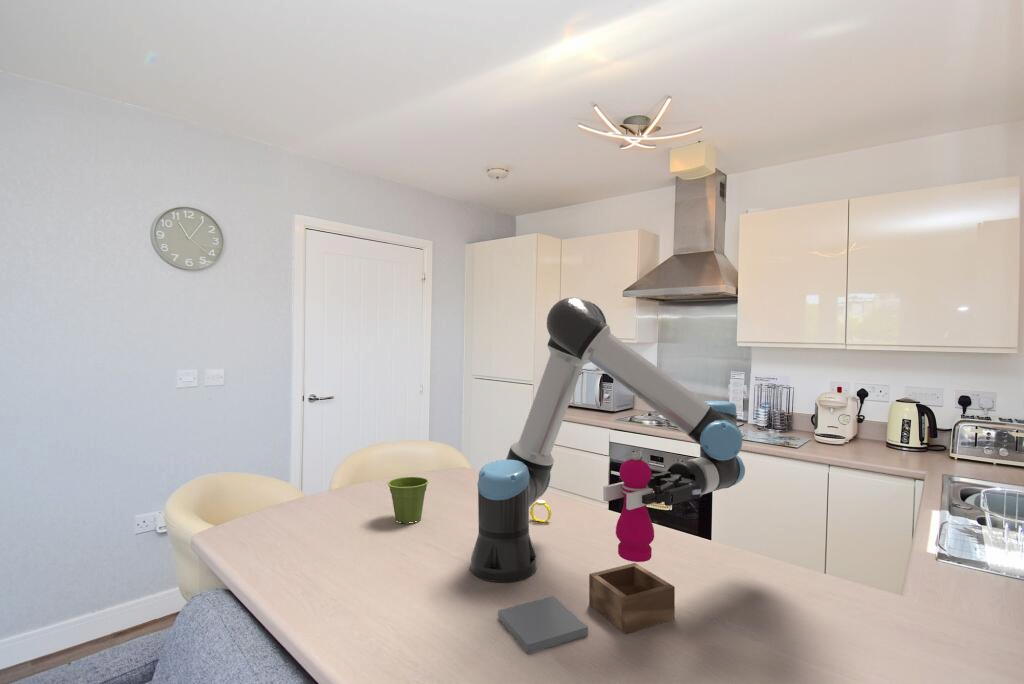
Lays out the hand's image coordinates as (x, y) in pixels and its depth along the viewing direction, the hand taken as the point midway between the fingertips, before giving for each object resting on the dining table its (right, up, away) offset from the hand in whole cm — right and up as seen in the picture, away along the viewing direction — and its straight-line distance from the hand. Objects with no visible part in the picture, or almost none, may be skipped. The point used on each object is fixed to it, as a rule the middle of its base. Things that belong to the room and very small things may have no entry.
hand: (616, 497), depth 95 cm
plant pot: (-50, -23, +53) cm, 76 cm away
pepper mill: (+4, -12, +3) cm, 13 cm away
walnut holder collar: (+4, -23, +3) cm, 23 cm away
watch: (-11, -23, +52) cm, 58 cm away
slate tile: (-14, -23, -2) cm, 27 cm away
